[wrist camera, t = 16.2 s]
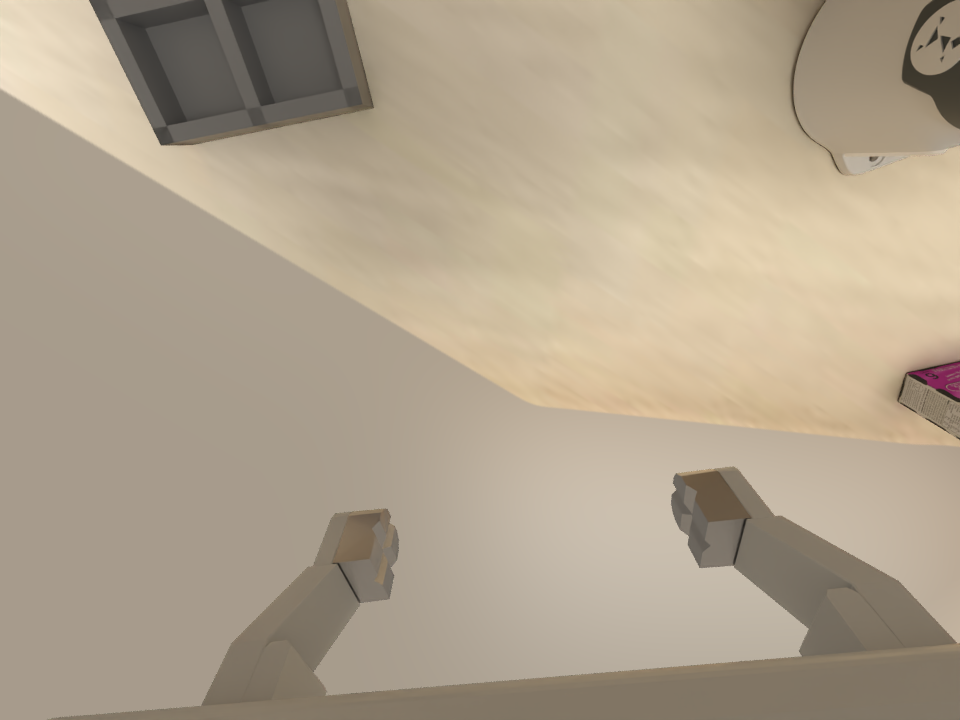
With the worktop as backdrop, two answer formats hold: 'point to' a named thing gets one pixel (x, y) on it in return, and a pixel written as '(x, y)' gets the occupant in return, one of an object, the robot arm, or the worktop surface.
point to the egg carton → (236, 63)
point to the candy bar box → (935, 396)
